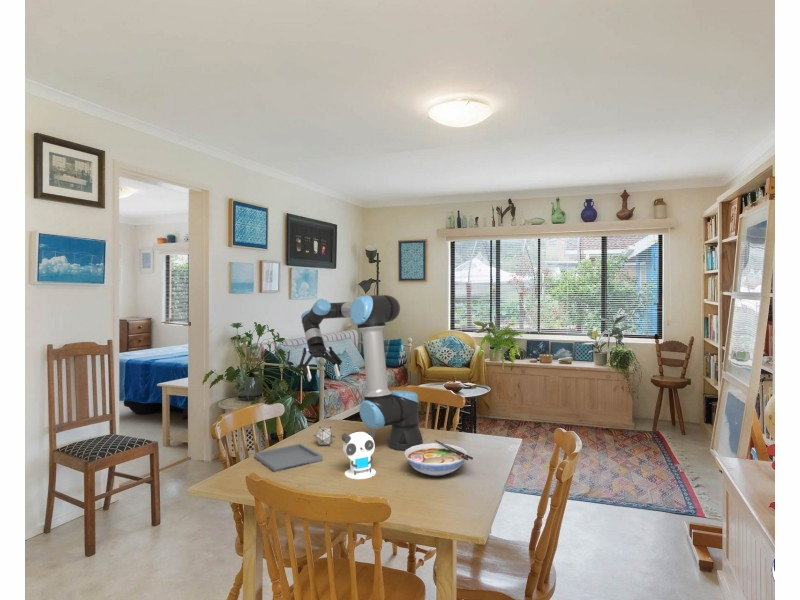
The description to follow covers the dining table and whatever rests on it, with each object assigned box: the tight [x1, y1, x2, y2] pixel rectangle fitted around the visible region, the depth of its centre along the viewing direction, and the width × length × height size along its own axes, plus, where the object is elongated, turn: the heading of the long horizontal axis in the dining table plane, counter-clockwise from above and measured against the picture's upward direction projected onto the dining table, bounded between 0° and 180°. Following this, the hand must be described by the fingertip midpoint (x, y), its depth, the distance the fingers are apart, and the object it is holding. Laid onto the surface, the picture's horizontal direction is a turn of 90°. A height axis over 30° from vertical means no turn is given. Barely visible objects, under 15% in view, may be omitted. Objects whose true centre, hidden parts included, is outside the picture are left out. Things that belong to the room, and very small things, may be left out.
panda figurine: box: [341, 429, 377, 480], centre depth 183 cm, size 12×11×15 cm
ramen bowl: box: [403, 439, 474, 477], centre depth 183 cm, size 25×23×8 cm
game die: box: [313, 426, 336, 447], centre depth 218 cm, size 9×8×10 cm
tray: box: [253, 443, 323, 473], centre depth 200 cm, size 20×20×2 cm
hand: (324, 378), depth 228 cm, fingers open, 13 cm apart
